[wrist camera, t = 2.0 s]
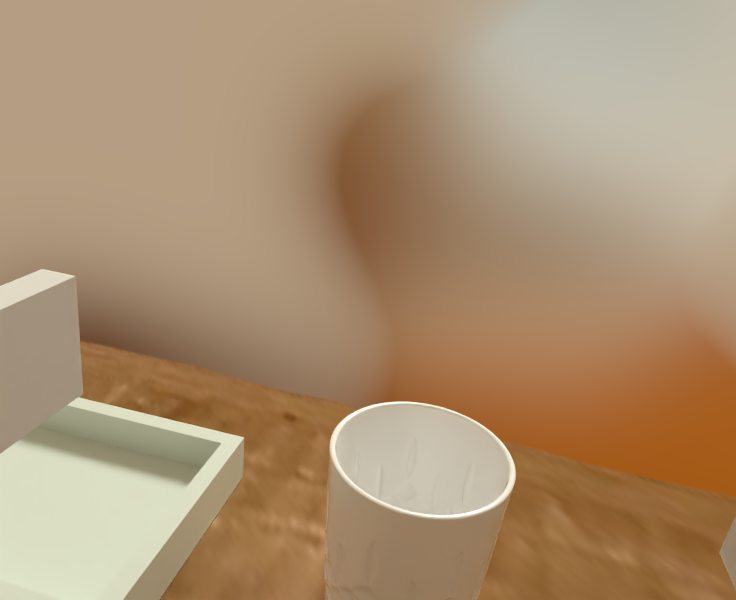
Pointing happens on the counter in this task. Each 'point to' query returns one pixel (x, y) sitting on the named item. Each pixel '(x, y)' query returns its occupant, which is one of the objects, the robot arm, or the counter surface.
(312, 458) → the counter surface
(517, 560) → the counter surface
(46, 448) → the tray
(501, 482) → the white cup
